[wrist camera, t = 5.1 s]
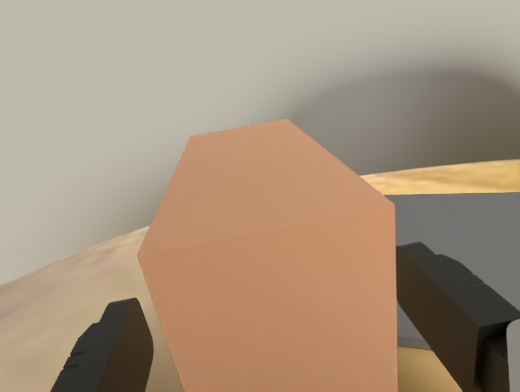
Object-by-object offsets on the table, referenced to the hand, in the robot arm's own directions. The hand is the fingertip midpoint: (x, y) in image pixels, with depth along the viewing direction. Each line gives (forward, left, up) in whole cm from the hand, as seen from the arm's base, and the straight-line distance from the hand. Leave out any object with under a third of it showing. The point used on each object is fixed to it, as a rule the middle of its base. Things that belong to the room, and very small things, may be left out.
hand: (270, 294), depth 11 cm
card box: (+1, -2, -7) cm, 7 cm away
